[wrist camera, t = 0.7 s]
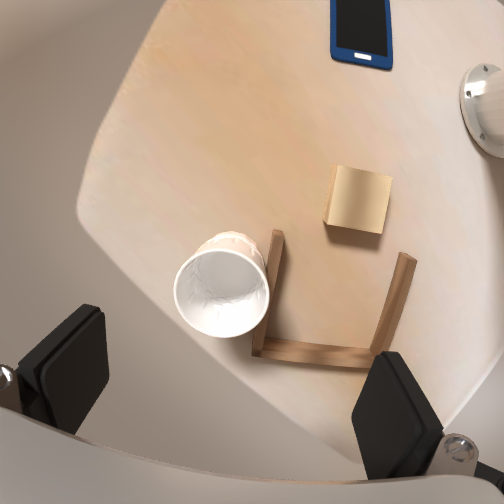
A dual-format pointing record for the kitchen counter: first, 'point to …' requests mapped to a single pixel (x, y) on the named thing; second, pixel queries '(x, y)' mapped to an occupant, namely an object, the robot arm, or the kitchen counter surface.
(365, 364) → the corral
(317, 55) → the kitchen counter surface
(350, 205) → the tan square block
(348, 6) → the cell phone
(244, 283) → the white cup
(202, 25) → the kitchen counter surface
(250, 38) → the kitchen counter surface
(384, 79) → the kitchen counter surface
